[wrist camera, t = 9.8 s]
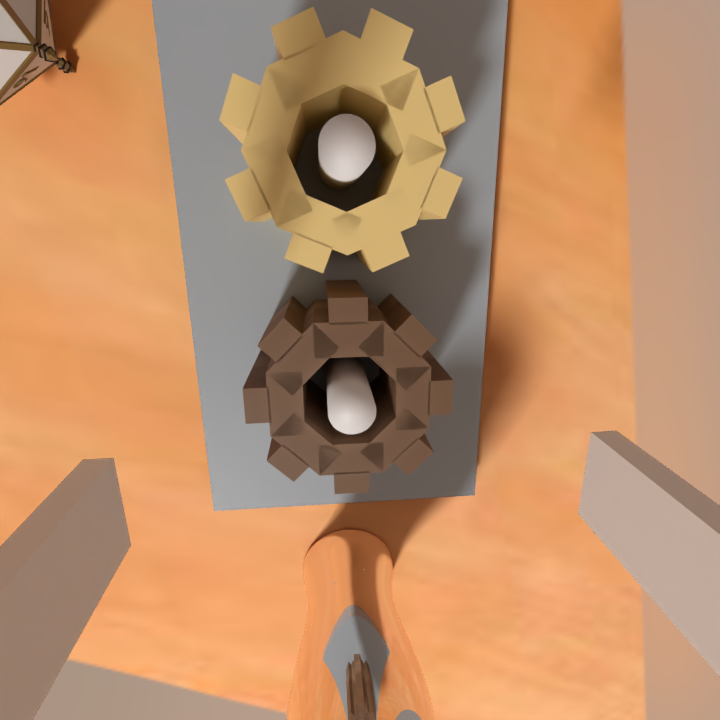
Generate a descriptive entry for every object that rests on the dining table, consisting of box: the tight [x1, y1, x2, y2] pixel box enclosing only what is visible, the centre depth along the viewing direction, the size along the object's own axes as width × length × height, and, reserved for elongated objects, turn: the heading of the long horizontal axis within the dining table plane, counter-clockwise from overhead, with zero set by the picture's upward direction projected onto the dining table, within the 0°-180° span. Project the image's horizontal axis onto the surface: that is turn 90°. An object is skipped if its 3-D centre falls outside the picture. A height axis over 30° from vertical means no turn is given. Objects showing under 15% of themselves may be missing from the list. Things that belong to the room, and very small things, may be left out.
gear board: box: [152, 0, 508, 511], centre depth 21 cm, size 28×16×8 cm, turn 1°
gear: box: [219, 6, 465, 273], centre depth 20 cm, size 9×9×6 cm
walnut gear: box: [242, 280, 454, 494], centre depth 23 cm, size 9×9×6 cm
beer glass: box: [286, 529, 436, 720], centre depth 24 cm, size 7×7×15 cm
